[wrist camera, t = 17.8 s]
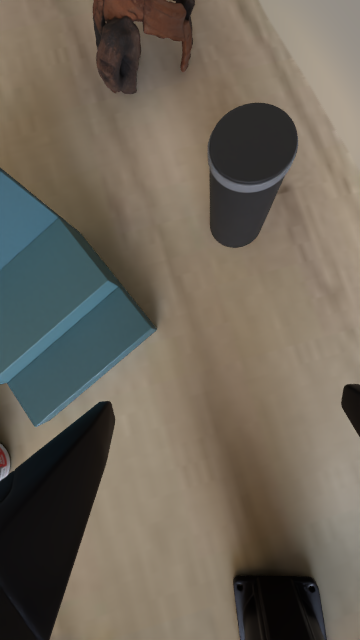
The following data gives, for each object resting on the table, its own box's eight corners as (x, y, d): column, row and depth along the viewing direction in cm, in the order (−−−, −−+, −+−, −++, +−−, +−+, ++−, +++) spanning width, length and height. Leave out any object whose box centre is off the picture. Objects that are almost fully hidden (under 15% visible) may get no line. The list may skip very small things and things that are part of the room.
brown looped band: (110, 33, 26) (119, -102, 18) (182, 87, 29) (216, -11, 21) (65, 97, 22) (55, -39, 15) (154, 152, 25) (182, 61, 18)
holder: (247, 257, 21) (273, 197, 12) (199, 235, 22) (192, 164, 13) (272, 210, 21) (316, 117, 12) (224, 190, 22) (232, 89, 13)
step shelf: (157, 329, 22) (112, 320, 12) (50, 420, 22) (-77, 483, 12) (79, 232, 24) (-14, 155, 14) (-17, 318, 24) (-171, 303, 15)
